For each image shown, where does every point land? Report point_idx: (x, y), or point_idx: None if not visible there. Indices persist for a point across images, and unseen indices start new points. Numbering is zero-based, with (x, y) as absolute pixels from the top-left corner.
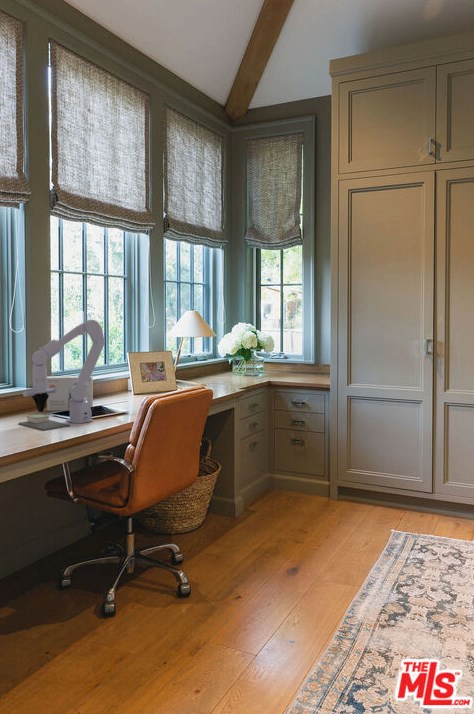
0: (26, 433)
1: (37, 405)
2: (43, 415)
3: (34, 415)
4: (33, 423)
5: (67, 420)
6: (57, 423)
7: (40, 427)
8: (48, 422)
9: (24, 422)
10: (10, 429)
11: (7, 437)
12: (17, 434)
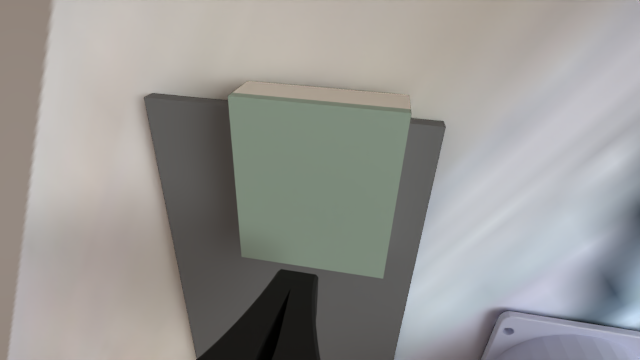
0: (111, 352)
1: (247, 330)
2: (381, 210)
3: (314, 129)
4: (232, 230)
5: (493, 339)
6: (357, 352)
7: (208, 348)
8: (339, 287)
9: (193, 134)
10: (53, 216)
11: (14, 342)
12: (66, 335)
